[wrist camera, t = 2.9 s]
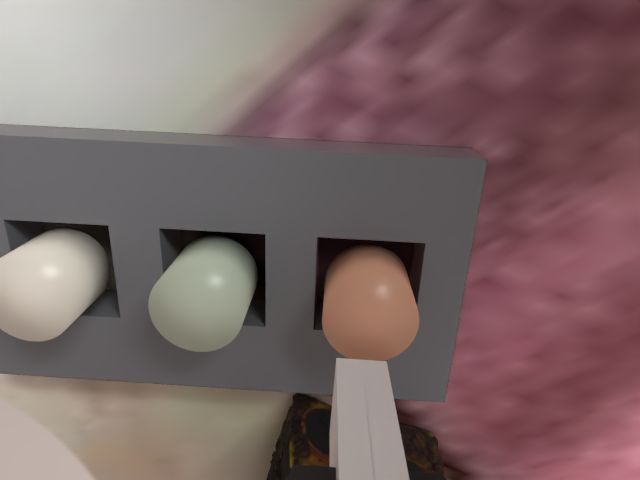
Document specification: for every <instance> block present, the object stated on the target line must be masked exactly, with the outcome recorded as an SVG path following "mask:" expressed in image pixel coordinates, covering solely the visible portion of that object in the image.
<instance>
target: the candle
mask: <svg viewBox="0 0 640 480" xmlns="http://www.w3.org/2000/svg"><path fill="white" fill-rule="evenodd" d="M331 410H332V406H331V405H328V404H326V403H323V402H321V401H319V400H317V399H315V398H312V397H310V396H308V395H303V394H299V393H297V394H295V395H294V396H293V404H292V406H291V407H290V409H289V411H288V414H287V417H286V419H285V421H284V423H283V427H282V430H281V434H280V436H279V438H278V441H277V444H276V451H275V452H274V453H273V455H272V457H273V458H272V460H271V462H270V463H271V467H270V470H269V473H268V477H267V480H285V479H286V477H287V476H288V474H289V473H290V471H291V469H292V468H293V466H294V464H295V465H310V466H325V467H330V421H331ZM398 423H399V422H398ZM399 428H400V433H401V438H402V443H403V448H404V454H405V459H406V464H407V469H408V471H419V472H434V473H442V474H443V476H444V464H443V461H442V458H441V456H440V454H439V453H438V451H437V448H438V441H437V439H436V438H435V436H434V435H433V433H432V432H428V431H425V430H422V429H419V428H416V427H412V426H408V425H403V424H401V423H399Z"/></svg>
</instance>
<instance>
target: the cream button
mask: <svg viewBox="0 0 640 480" xmlns="http://www.w3.org/2000/svg"><path fill="white" fill-rule="evenodd" d="M111 274H112V270H111V263H110V260H109V257H108V255H107V253H106V252H105V250H104V249H103V247H102V246H101V245H100V244H99V243H98V242H97V241H96V240H95V239H94V238H92V237H91V236H89V235H88V234H86V233H84V232H82V231H80V230H77V229H73V228H68V227H57V228H52V229H49V230H47V231H45V232H43V233H41V234H40V235H38V236H36V237H35V238H33V239H31V240H30V241H28V242H26V243H25V244H23V245H21V246H20V247H18V248H16V249H15V250H13V251H11V252H10V253H8V254H6V255H4V256H3V257H1V258H0V329H1V330H3V331H4V332H6V333H8V334H9V335H11V336H14V337H16V338H19V339H22V340H26V341H37V342H40V341H47V340H51V339H53V338H55V337H57V336H59V335H60V334H61V333H63V332H64V331H65V330H66V329H67V328H68V327H69V326H70V325H71V324H72V323H73V322H74V321H75V320H76V319H77V318H78V317H79V316H80V315H81V314H82V313H83V312H84V311H85V310H86V309H87V308H88V307H89V306H90V305H91V304H92V303H93V302H94V301H95V300H96V299H97V298H98V297H99V296H100V295H101V294H102V293H103V292H104V291H105V290H106V289H107V287H108V285H109V283H110V280H111Z"/></svg>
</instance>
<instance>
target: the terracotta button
mask: <svg viewBox="0 0 640 480" xmlns="http://www.w3.org/2000/svg"><path fill="white" fill-rule="evenodd" d="M322 327H323V331H324V334H325V336H326V338H327V340H328V342H329V343H330V345H331V346H332V347H333V348H334V349H335V350H336V351H337V352H339V353H340V354H342V355H343V356H345V357H347V358H349V359H360V360H374V361H385V360H388V359H391V358H393V357H395V356H397V355H399V354H400V353H402V352H403V351H404V350H406V349H407V348H408V347H409V346H410V344H411V343H412V342H413V340H414V338H415V336H416V334H417V332H418V328H419V313H418V309H417V305H416V302H415V298H414V295H413V291H412V288H411V285H410V281H409V278H408V274H407V271H406V268H405V266H404V264H403V262H402V261H401V260H400V258H399V257H398V256H397V255H396V254H394V253H393V252H392V251H390V250H388V249H386V248H384V247H382V246H378V245H372V244H362V245H356V246H353V247H350V248H348V249H346V250H344V251H342V252H341V253H340V254H338V255H337V256H336V257H335V258H334V259H333V261H332V262H331V264H330V265H329V267H328V269H327V273H326V278H325V289H324V301H323V314H322Z"/></svg>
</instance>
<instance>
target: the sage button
mask: <svg viewBox="0 0 640 480" xmlns="http://www.w3.org/2000/svg"><path fill="white" fill-rule="evenodd" d="M257 283H258V270H257V266H256V263H255V261H254V259H253V257H252V255H251V254H250V253H249V252H248V250H247V249H246V248H244V247H243V246H242V245H241V244H239V243H238V242H236V241H234V240H232V239H229V238H227V237H223V236H204V237H201V238H198V239H196V240H194V241H192V242H191V243H189V244H188V245H187V246H186V247H185V248H184V249H183V251H182V252H181V253H180V254H179V255H178V257H177V258H176V259H175V260H174V262H173V263H172V264H171V265H170V266H169V268H168V269H167V270H166V271H165V273H164V274H163V275H162V276H161V277H160V279H159V280H158V281H157V282H156V284H155V285H154V287H153V288H152V290H151V293H150V296H149V302H148V309H149V314H150V317H151V320H152V322H153V324H154V326H155V327H156V329H157V330H158V332H159V333H160V334H161V335H162V336H163V337H164V338H165V339H167V340H168V341H169V342H171V343H172V344H174V345H176V346H178V347H180V348H183V349H186V350H190V351H195V352H208V351H214V350H217V349H220V348H222V347H224V346H226V345H228V344H229V343H230V342H232V341H233V340H234V339H235V337H236V336H237V335H238V333H239V331H240V329H241V327H242V324H243V321H244V319H245V316H246V313H247V311H248V308H249V305H250V303H251V300H252V297H253V295H254V292H255V289H256V287H257Z"/></svg>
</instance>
